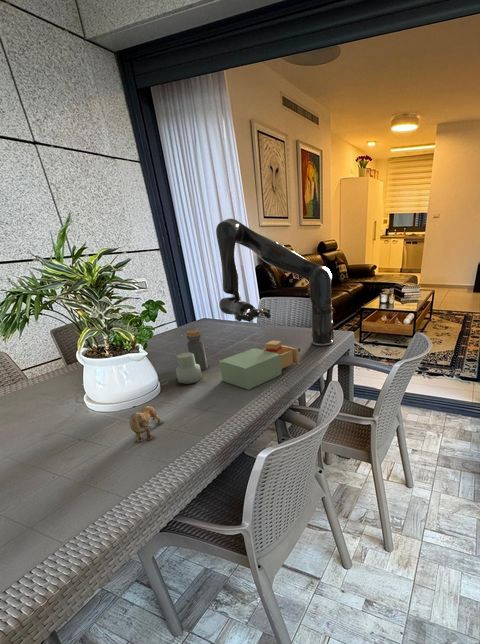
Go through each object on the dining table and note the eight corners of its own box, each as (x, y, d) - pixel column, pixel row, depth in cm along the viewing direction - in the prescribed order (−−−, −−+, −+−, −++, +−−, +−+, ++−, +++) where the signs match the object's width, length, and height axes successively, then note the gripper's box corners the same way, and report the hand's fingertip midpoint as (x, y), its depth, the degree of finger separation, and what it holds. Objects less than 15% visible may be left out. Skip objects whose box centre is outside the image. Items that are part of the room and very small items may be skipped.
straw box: (272, 359, 140) (270, 340, 136) (282, 360, 139) (281, 341, 135) (267, 363, 136) (265, 343, 133) (278, 364, 135) (276, 344, 131)
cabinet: (256, 366, 140) (254, 348, 136) (281, 374, 132) (280, 354, 128) (222, 381, 128) (219, 360, 124) (248, 389, 120) (245, 368, 117)
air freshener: (203, 384, 126) (198, 357, 121) (179, 388, 123) (173, 361, 118) (200, 373, 135) (195, 348, 130) (178, 377, 132) (171, 352, 127)
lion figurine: (155, 446, 91) (146, 416, 87) (133, 449, 90) (122, 419, 86) (163, 419, 104) (155, 391, 99) (143, 422, 102) (135, 394, 98)
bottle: (210, 365, 142) (203, 329, 135) (204, 371, 137) (197, 333, 130) (196, 365, 143) (188, 329, 136) (190, 370, 138) (181, 333, 131)
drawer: (283, 354, 149) (282, 340, 147) (306, 359, 143) (305, 345, 140) (248, 368, 135) (246, 354, 133) (271, 375, 129) (269, 360, 126)
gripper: (227, 304, 148) (241, 310, 136) (258, 299, 154) (274, 305, 142) (230, 322, 151) (244, 329, 139) (260, 316, 158) (276, 323, 146)
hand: (259, 317), depth 141 cm, fingers open, 8 cm apart
